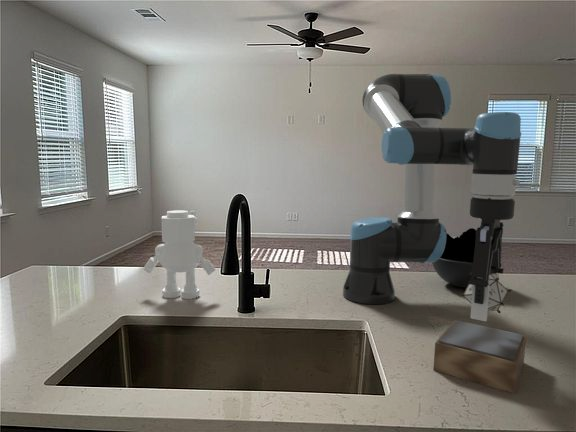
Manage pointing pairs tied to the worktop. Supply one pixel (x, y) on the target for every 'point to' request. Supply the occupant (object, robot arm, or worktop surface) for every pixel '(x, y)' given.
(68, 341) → the worktop surface
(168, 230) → the robot toy
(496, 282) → the game die
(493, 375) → the walnut framed square mirror
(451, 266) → the coal bowl
